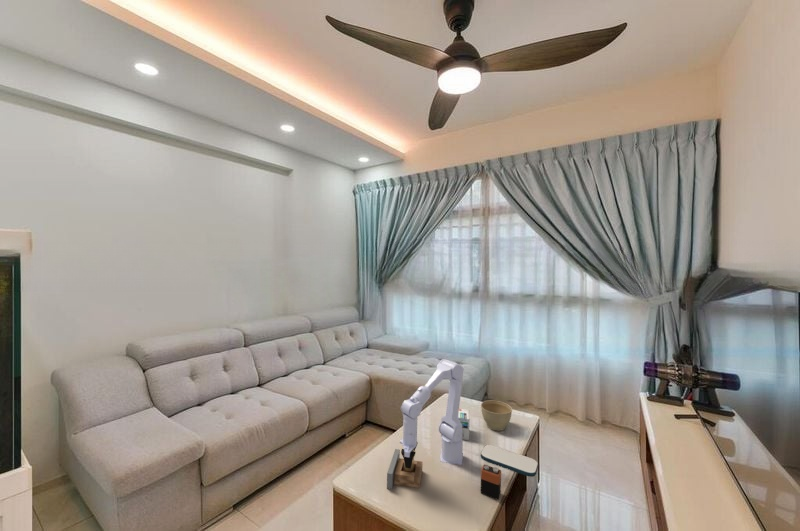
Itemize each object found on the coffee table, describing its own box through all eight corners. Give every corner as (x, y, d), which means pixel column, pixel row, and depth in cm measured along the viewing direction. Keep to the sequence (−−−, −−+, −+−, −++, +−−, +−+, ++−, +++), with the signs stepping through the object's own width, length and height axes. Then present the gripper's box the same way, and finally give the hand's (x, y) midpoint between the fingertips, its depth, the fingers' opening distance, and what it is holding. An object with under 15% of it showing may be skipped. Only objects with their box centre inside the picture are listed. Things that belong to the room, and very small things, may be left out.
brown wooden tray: (422, 471, 130) (422, 461, 130) (419, 488, 121) (419, 477, 121) (398, 467, 132) (399, 458, 132) (394, 483, 122) (394, 473, 122)
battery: (498, 500, 116) (499, 473, 116) (480, 493, 119) (481, 467, 119) (500, 493, 120) (501, 467, 120) (483, 486, 123) (483, 461, 123)
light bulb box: (469, 440, 155) (469, 419, 155) (455, 438, 156) (456, 417, 156) (468, 429, 165) (469, 409, 165) (455, 427, 167) (456, 407, 167)
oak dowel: (414, 467, 128) (414, 448, 128) (412, 474, 124) (413, 454, 124) (404, 466, 129) (405, 446, 129) (403, 472, 125) (403, 452, 125)
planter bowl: (514, 424, 172) (515, 405, 172) (507, 438, 158) (508, 416, 158) (485, 416, 181) (486, 397, 180) (476, 428, 167) (477, 408, 167)
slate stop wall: (399, 464, 135) (399, 449, 135) (391, 490, 120) (392, 474, 119) (394, 463, 136) (395, 448, 136) (386, 489, 120) (387, 473, 120)
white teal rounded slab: (478, 459, 141) (478, 455, 141) (486, 447, 151) (486, 443, 151) (534, 480, 128) (535, 475, 128) (538, 465, 138) (539, 460, 138)
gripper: (403, 420, 134) (402, 452, 134) (397, 439, 120) (395, 474, 120) (419, 422, 133) (418, 454, 133) (415, 441, 119) (414, 477, 119)
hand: (409, 464), depth 126 cm, fingers closed on oak dowel, 4 cm apart
